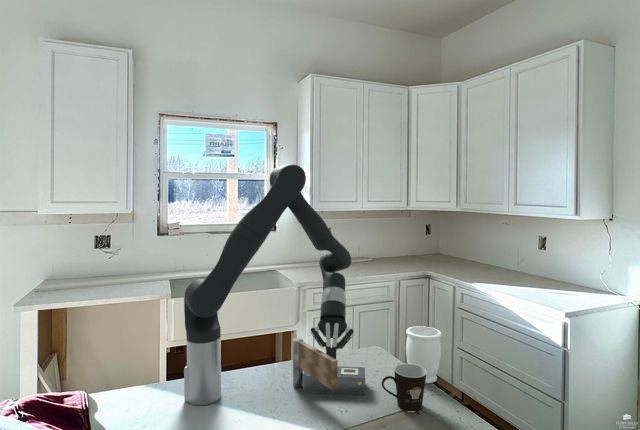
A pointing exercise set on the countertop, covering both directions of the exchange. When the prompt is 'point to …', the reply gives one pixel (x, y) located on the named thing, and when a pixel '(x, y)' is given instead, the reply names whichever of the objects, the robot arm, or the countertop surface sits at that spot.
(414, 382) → the coffee mug
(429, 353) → the jar
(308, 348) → the brown wooden board
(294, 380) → the swing post
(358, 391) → the case
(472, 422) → the countertop surface
